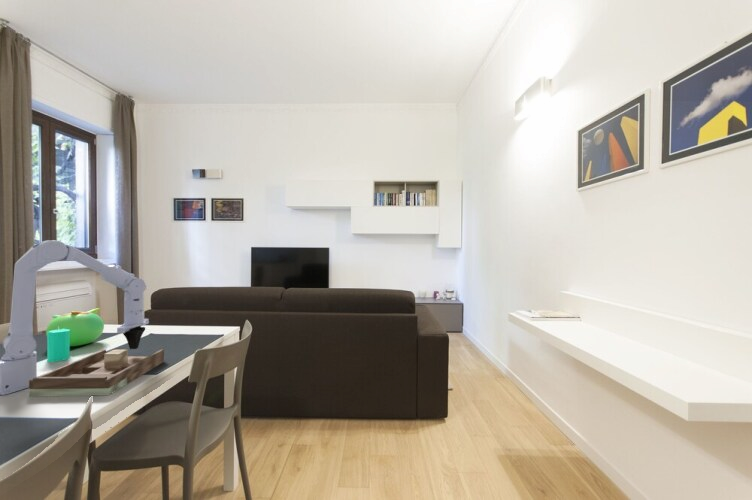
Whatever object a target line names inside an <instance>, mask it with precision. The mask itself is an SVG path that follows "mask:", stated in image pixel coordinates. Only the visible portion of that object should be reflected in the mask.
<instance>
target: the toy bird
mask: <svg viewBox="0 0 752 500" xmlns="http://www.w3.org/2000/svg"><path fill="white" fill-rule="evenodd" d="M101 309H102V308H100V307H98V308H93V309H90V310H88V311H74V310H73V311H70V312H67V313H63V314H61V315H60V314H53V315H52V318H53V319H52V320H51V321H50V322H49V323H48V325H47V327H46V329H45V335H46V337H47V332H49V331H52V330H57V329H58V326H59V329H70V348H71V347H79V346H83V345H88V344H91V343H92V342H94V341H95V340H97V339H99V337H100V336H102V334H103V332H104V327H105V324H104V320H103V319H102V318H101V317H100V316H99V315H98V314H96V313H98V312H99V311H100V310H101Z"/></svg>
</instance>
